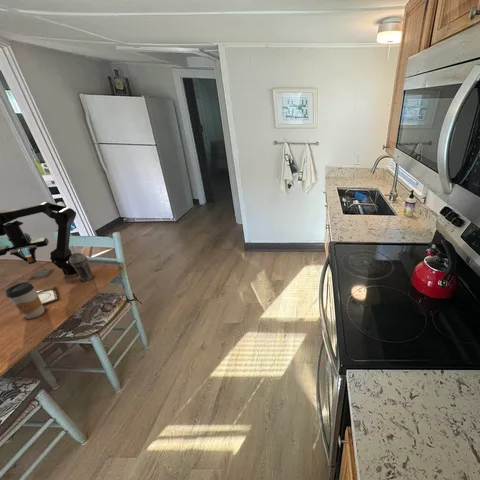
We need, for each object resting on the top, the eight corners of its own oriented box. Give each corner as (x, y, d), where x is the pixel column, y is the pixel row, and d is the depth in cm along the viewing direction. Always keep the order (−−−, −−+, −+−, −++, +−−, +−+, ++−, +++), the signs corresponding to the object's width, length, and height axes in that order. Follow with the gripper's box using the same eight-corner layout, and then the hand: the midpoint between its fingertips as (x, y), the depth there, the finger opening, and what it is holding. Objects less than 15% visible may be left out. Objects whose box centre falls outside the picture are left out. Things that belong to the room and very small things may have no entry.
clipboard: (54, 287, 137) (53, 285, 137) (57, 299, 129) (56, 297, 128) (22, 298, 130) (20, 296, 129) (23, 312, 121) (21, 310, 120)
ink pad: (53, 270, 152) (52, 268, 151) (46, 276, 146) (45, 275, 146) (37, 272, 150) (37, 271, 150) (30, 279, 144) (29, 278, 144)
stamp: (38, 260, 143) (34, 254, 141) (34, 263, 140) (30, 257, 138) (30, 261, 142) (26, 255, 140) (27, 264, 139) (22, 258, 138)
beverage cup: (77, 283, 140) (59, 251, 131) (81, 276, 146) (64, 244, 136) (94, 280, 143) (78, 247, 134) (97, 273, 149) (82, 241, 139)
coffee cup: (18, 322, 115) (-1, 295, 108) (28, 310, 122) (10, 284, 115) (43, 317, 118) (25, 290, 111) (51, 305, 125) (35, 279, 118)
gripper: (43, 224, 144) (56, 249, 151) (-7, 233, 135) (10, 259, 142) (39, 231, 136) (53, 257, 143) (-14, 241, 126) (4, 269, 134)
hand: (31, 260), depth 141 cm, fingers closed on stamp, 2 cm apart
